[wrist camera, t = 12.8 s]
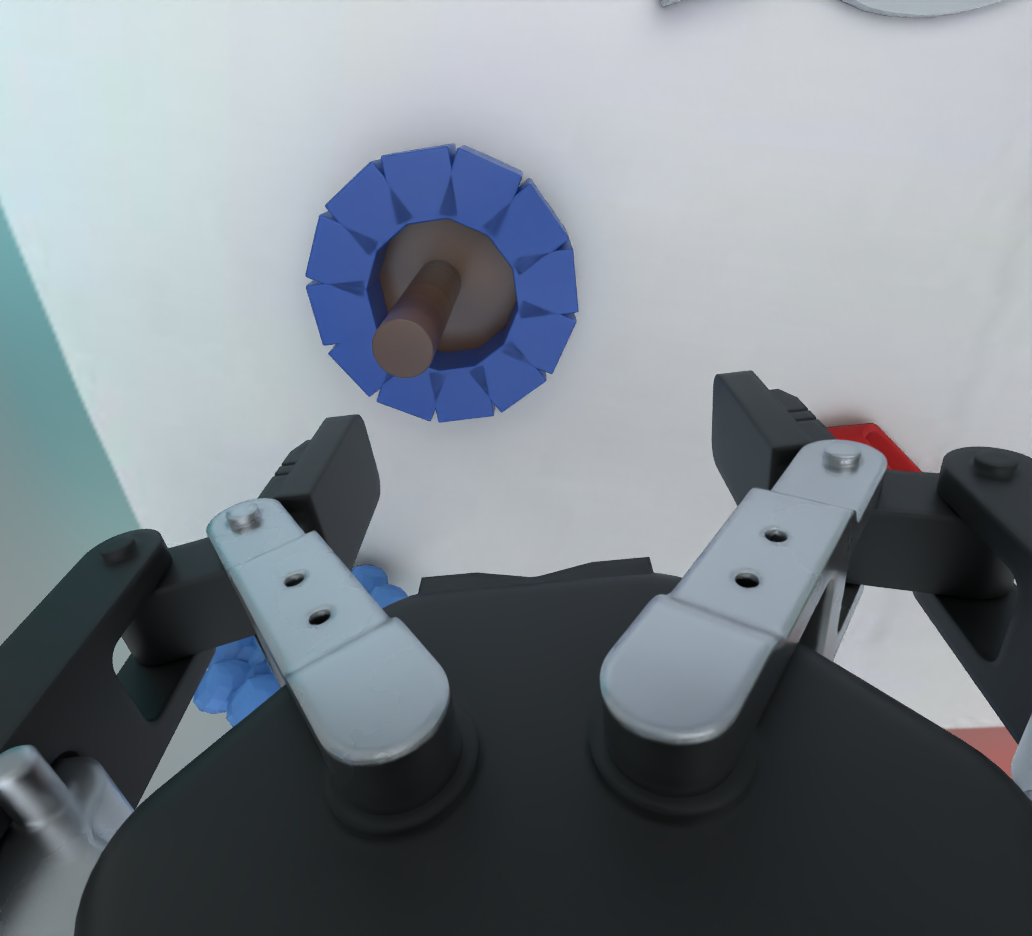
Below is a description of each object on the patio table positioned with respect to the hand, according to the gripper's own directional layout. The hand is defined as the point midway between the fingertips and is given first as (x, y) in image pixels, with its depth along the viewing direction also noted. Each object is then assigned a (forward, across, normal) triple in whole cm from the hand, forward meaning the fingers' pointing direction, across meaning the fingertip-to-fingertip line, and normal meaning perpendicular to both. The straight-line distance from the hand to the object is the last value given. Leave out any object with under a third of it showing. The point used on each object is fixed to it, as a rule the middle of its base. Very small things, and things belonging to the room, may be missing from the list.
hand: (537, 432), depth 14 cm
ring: (+19, +4, +1) cm, 19 cm away
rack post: (+20, +5, 0) cm, 20 cm away
